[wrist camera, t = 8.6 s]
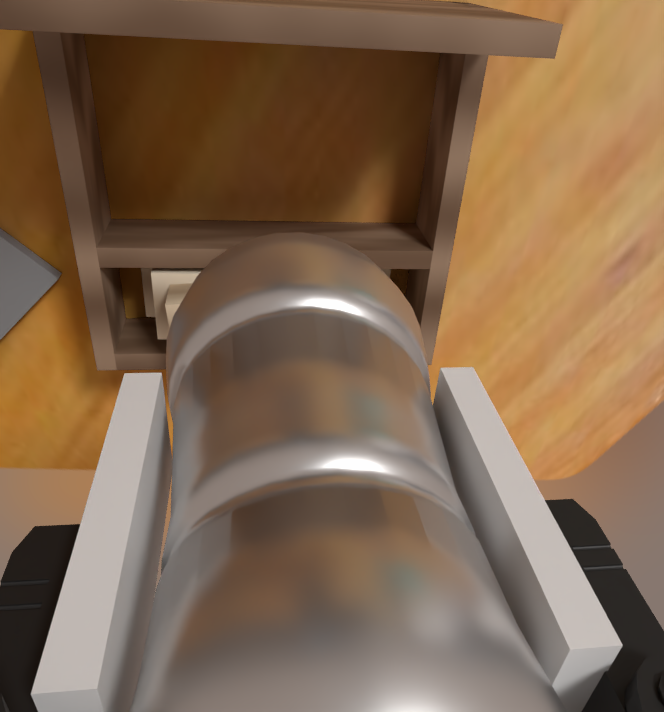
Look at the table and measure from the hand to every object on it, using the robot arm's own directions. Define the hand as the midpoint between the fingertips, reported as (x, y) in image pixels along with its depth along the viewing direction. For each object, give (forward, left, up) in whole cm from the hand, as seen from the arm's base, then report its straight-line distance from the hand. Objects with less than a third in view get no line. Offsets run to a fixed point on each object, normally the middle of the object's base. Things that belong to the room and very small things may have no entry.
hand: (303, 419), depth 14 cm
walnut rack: (+2, -2, -27) cm, 27 cm away
